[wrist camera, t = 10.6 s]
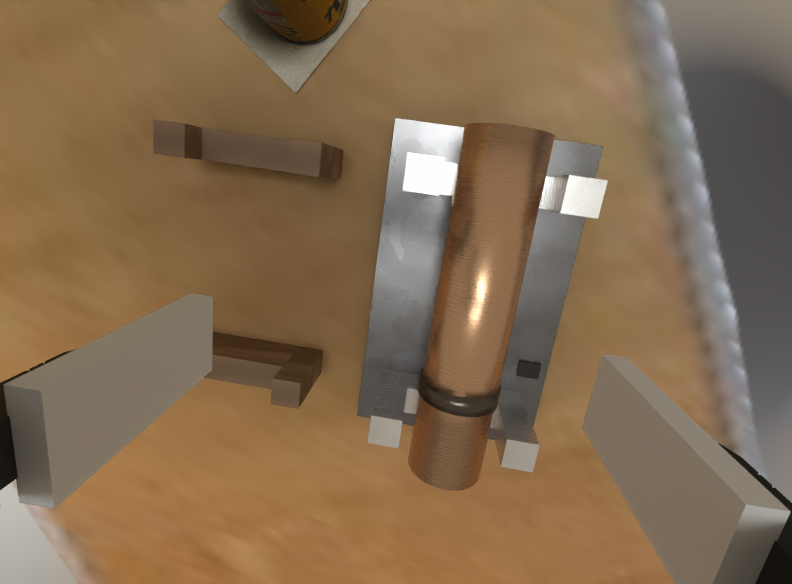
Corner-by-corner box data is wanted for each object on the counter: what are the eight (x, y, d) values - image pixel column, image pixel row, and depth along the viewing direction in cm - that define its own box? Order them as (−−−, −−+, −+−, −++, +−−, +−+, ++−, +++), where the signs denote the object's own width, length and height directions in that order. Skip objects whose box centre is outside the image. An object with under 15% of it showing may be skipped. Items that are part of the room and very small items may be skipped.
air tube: (458, 130, 27) (466, 118, 22) (543, 142, 27) (571, 132, 21) (407, 436, 32) (403, 484, 27) (477, 448, 32) (486, 498, 27)
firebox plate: (397, 121, 31) (382, 98, 22) (595, 148, 30) (654, 134, 22) (360, 406, 37) (337, 471, 28) (524, 435, 36) (550, 509, 28)
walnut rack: (204, 131, 32) (153, 119, 26) (343, 150, 31) (321, 143, 26) (200, 352, 37) (155, 383, 31) (320, 372, 36) (298, 408, 30)
